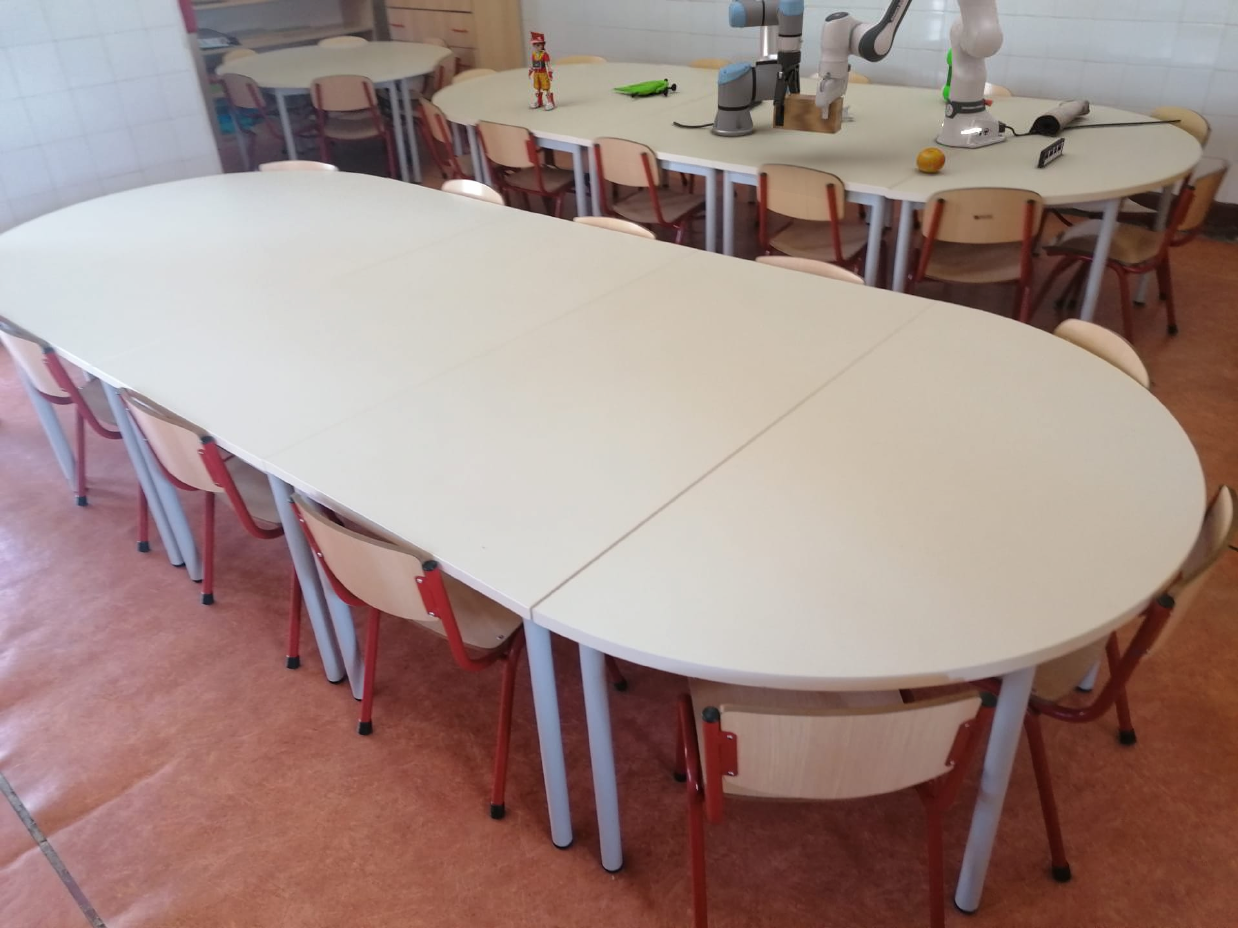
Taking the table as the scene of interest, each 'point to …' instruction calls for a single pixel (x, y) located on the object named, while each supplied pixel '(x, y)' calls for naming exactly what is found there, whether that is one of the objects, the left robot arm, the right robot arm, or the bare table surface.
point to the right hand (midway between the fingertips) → (829, 115)
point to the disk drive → (753, 103)
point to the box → (810, 114)
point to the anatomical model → (844, 113)
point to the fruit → (930, 160)
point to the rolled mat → (1060, 117)
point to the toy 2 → (648, 88)
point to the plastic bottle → (947, 86)
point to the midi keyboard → (1051, 152)
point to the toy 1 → (541, 71)
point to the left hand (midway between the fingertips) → (785, 121)
